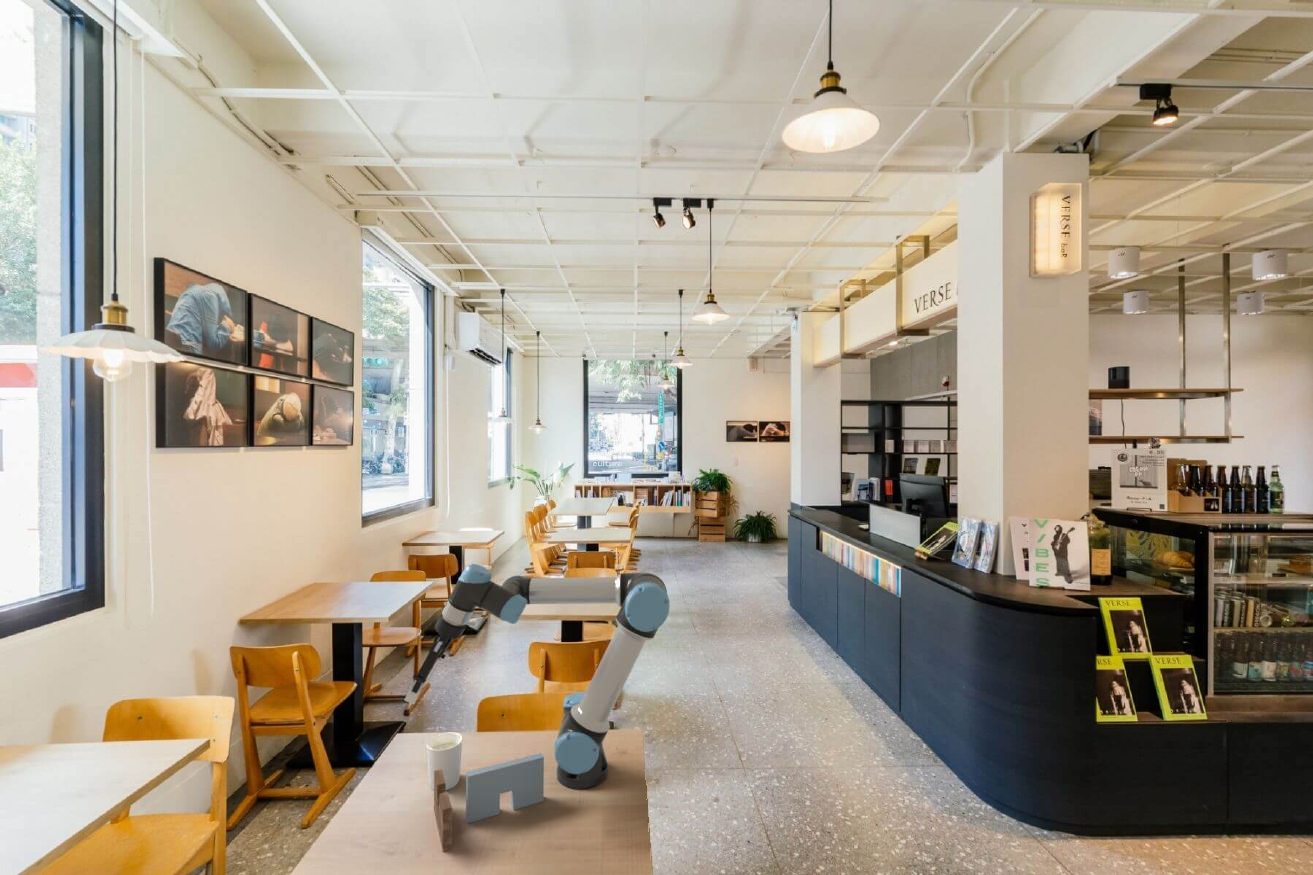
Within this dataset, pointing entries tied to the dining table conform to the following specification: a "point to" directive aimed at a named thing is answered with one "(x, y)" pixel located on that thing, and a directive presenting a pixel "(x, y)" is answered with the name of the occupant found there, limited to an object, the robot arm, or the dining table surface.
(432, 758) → the candle holder
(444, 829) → the walnut rail
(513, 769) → the slate plate
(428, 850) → the dining table surface
